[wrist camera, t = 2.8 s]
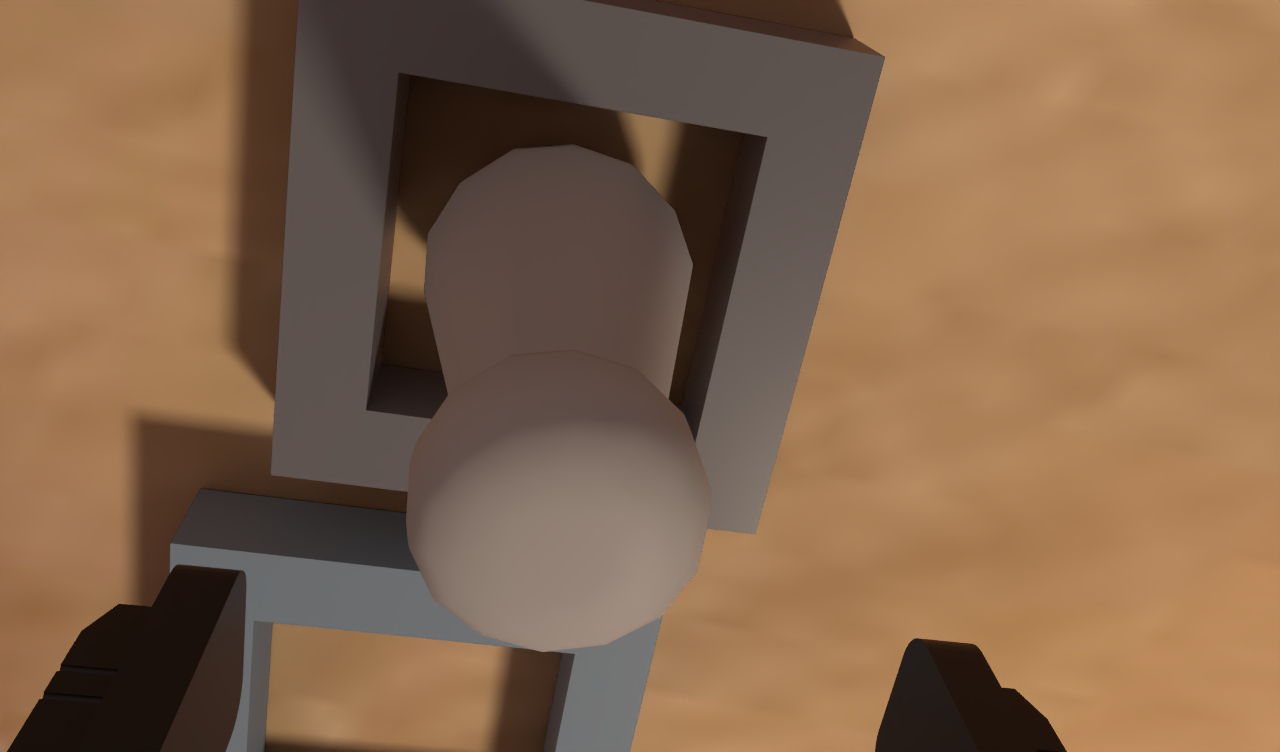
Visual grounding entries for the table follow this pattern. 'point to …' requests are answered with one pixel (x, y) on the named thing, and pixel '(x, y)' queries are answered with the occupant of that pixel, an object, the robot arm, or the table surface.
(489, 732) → the table surface
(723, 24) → the collar
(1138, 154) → the table surface
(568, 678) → the collar
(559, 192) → the salt shaker
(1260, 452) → the table surface
